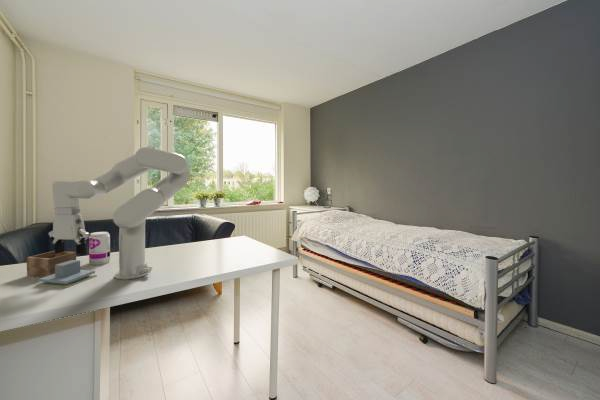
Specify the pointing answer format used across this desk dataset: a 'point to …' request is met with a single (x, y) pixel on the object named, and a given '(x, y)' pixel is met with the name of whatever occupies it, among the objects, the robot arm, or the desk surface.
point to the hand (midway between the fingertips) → (70, 253)
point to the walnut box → (47, 263)
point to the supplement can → (99, 248)
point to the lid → (67, 273)
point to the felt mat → (65, 284)
